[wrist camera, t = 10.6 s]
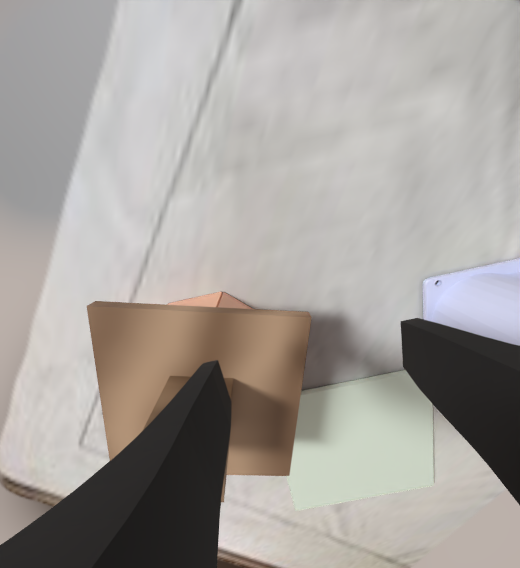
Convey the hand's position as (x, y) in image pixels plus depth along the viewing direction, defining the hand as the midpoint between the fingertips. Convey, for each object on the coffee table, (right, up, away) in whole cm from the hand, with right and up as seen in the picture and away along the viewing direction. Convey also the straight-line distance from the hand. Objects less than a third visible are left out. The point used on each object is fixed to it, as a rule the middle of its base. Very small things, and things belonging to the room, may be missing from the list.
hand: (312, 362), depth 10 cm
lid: (-6, -5, +7) cm, 10 cm away
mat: (+8, -13, +15) cm, 21 cm away
